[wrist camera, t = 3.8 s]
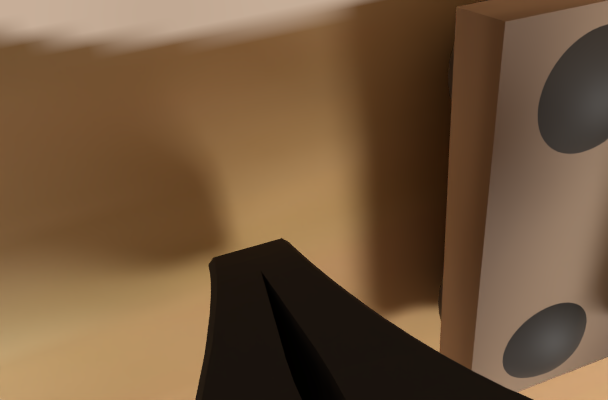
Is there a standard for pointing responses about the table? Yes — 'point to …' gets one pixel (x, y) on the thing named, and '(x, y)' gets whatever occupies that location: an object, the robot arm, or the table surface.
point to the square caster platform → (527, 190)
